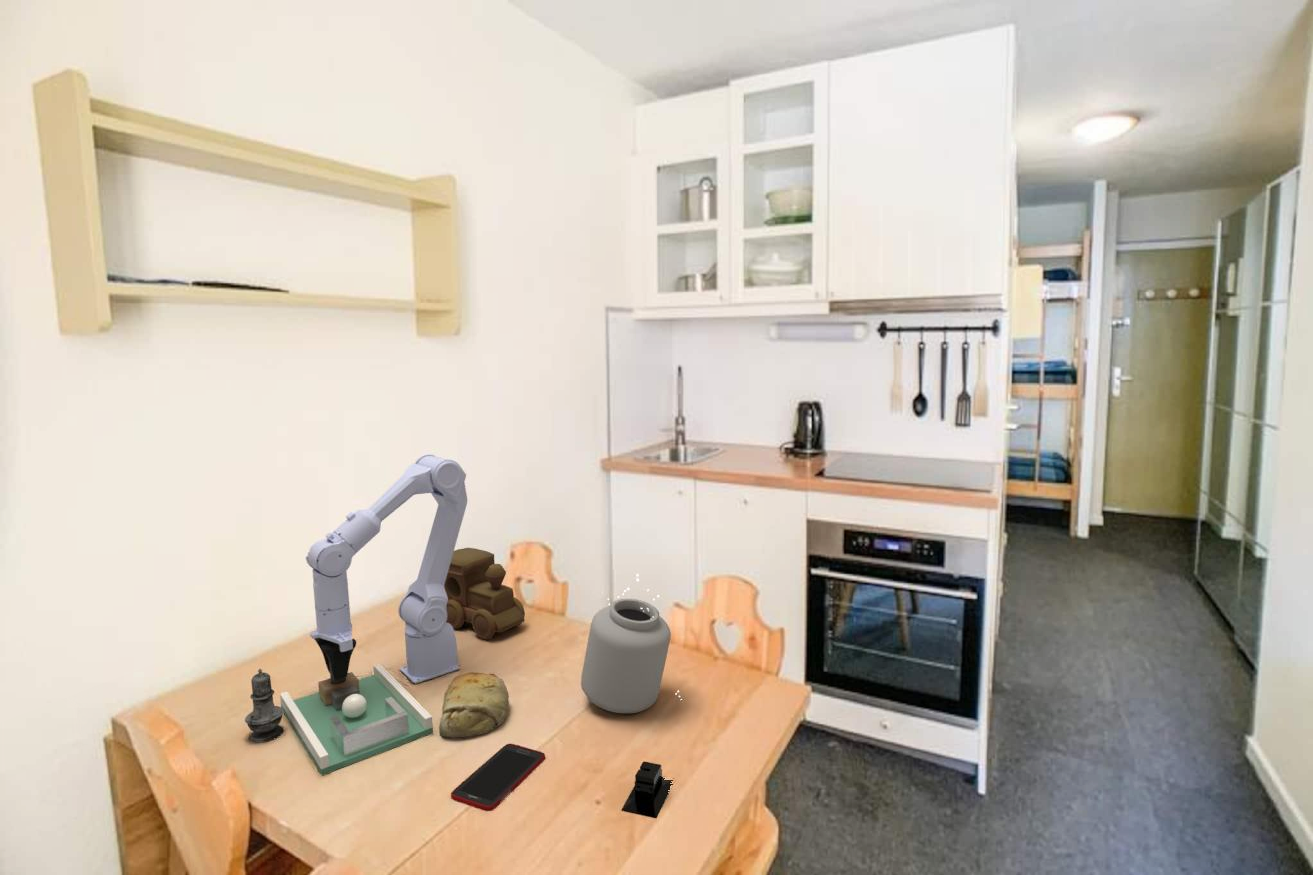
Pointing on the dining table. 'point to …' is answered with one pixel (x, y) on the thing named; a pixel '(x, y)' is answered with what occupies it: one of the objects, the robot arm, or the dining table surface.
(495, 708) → the pastry
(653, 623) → the jar
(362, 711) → the ball
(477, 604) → the wooden toy train
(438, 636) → the robot arm
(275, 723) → the salt shaker
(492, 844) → the dining table surface
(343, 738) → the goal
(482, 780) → the cell phone
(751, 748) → the dining table surface
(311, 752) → the pitch
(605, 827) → the dining table surface
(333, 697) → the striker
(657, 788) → the black stepped block
